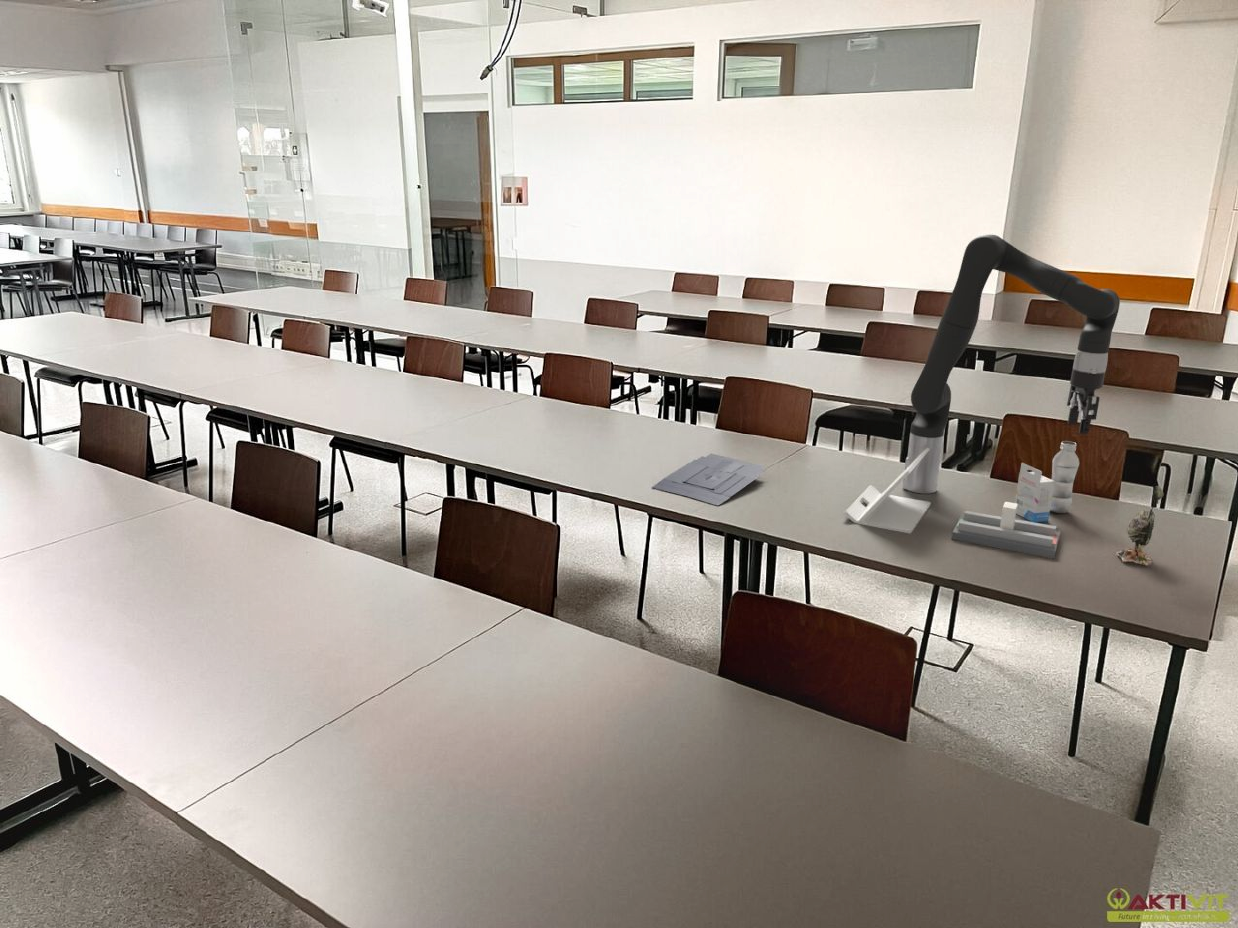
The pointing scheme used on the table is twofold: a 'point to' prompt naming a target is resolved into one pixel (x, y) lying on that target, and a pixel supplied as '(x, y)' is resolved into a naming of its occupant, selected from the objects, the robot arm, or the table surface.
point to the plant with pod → (1141, 533)
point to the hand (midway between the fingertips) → (1077, 428)
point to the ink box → (1033, 494)
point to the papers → (711, 478)
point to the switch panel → (1005, 542)
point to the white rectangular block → (1008, 515)
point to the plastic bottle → (1064, 477)
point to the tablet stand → (889, 506)
